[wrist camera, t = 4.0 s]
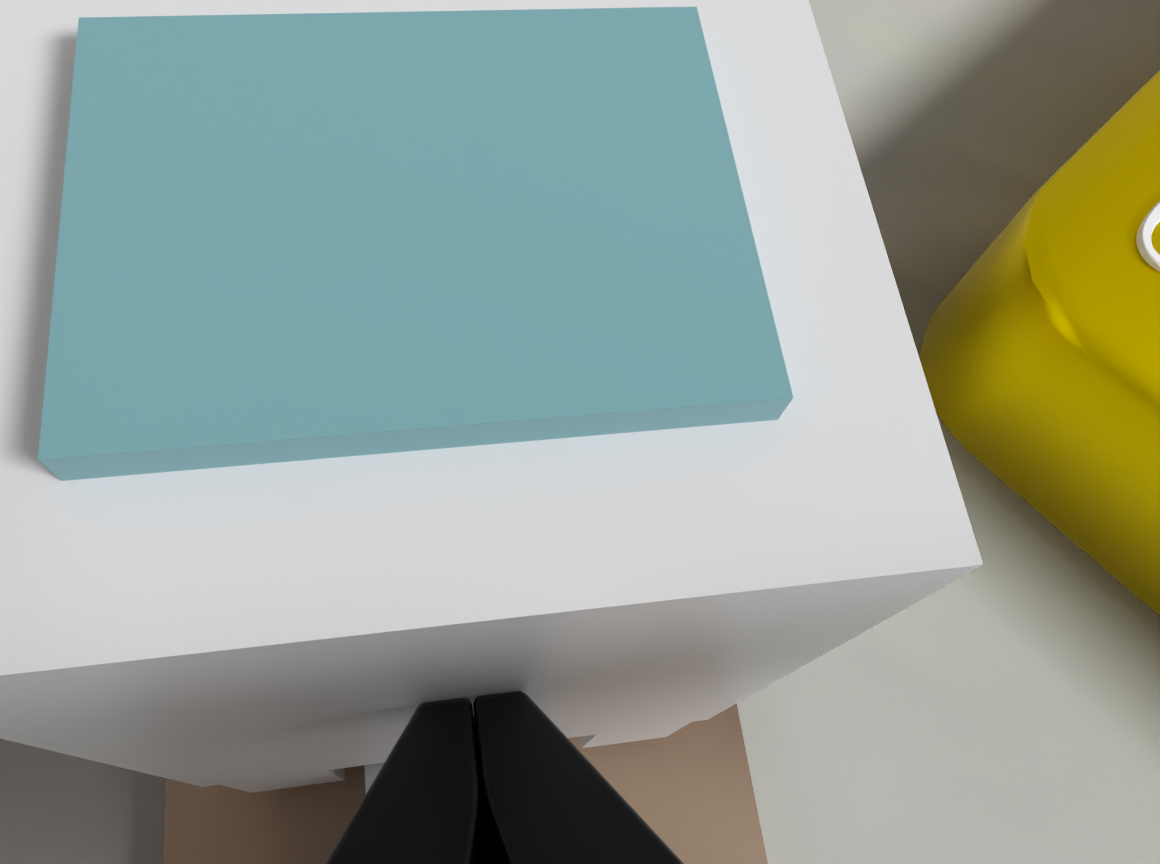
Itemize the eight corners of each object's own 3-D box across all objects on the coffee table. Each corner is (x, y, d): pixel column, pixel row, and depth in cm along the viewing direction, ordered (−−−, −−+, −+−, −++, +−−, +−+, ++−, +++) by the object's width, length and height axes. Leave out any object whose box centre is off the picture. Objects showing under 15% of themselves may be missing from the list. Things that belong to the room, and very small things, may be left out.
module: (679, 735, 13) (1010, 550, 5) (235, 794, 12) (-222, 686, 4) (625, 412, 15) (801, -95, 7) (236, 444, 14) (-75, -94, 6)
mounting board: (874, 1514, 11) (902, 1560, 10) (158, 1706, 10) (133, 1774, 9) (603, 76, 20) (608, 46, 19) (199, 87, 18) (188, 56, 18)
